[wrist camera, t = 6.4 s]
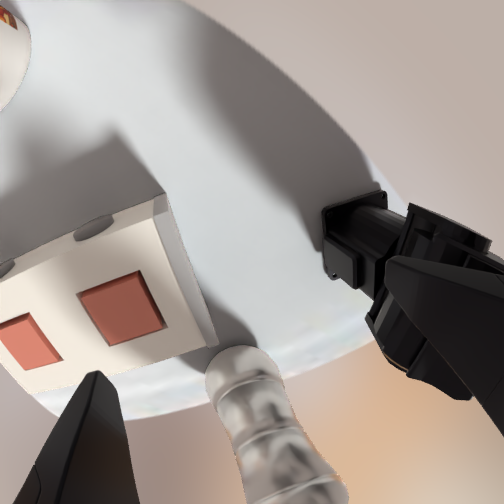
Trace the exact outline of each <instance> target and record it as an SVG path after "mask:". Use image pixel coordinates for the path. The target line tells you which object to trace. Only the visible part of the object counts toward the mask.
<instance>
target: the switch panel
mask: <svg viewBox="0 0 504 504" xmlns="http://www.w3.org/2000/svg"><path fill="white" fill-rule="evenodd" d="M138 270H140V271H141V273H142V275H143V277H144V279H145V282H146V284H147V286H148V288H149V290H150V292H151V294H152V296H153V298H154V300H155V302H156V304H157V306H158V308H159V310H160V312H161V318H162V328H161V329H158V330H155V331H152V332H149V333H146V334H143V335H140V336H137V337H133V338H130V339H127V340H124V341H121V342H118V343H115V344H111V345H110V343H109V342H108V340H107V339H106V337H105V336H104V334H103V333H102V331H101V330H100V328H99V327H98V325H97V324H96V322H95V321H94V319H93V317H92V316H91V314H90V313H89V311H88V309H87V308H86V306H85V304H84V303H83V301H82V299H81V297H82V294H83V291H84V290H87V289H89V288H92V287H95V286H97V285H100V284H102V283H105V282H108V281H111V280H113V279H116V278H119V277H121V276H124V275H127V274H129V273H132V272H135V271H138ZM27 312H30V314H31V315H32V317H33V319H34V320H35V322H36V323H37V324H38V326H39V327H40V329H41V330H42V332H43V333H44V334H45V336H46V337H47V339H48V340H49V341H50V343H51V344H52V345H53V347H54V348H55V349H56V350H57V352H58V353H59V354H60V355H59V359H58V361H57V362H53V363H50V364H46V365H42V366H39V367H35V368H31V369H27V370H24V369H23V368H22V367H21V366H20V364H19V363H18V362H17V361H16V360H15V358H14V357H13V356H12V355H11V353H10V352H9V351H8V350H7V348H6V347H5V346H4V344H3V343H2V342H1V340H0V363H1V364H2V365H3V366H4V367H5V369H6V370H7V371H8V372H9V373H10V374H11V375H12V377H13V378H14V379H15V380H16V381H17V382H18V383H19V384H20V385H21V386H22V387H23V388H24V390H25V391H26V392H27V393H28V394H35V393H40V392H45V391H49V390H54V389H59V388H63V387H68V386H72V385H76V384H80V383H81V382H82V380H83V378H84V377H85V375H86V374H87V373H89V372H92V371H96V370H100V371H101V372H102V373H103V374H104V375H105V376H106V377H108V376H111V375H115V374H119V373H122V372H126V371H129V370H133V369H136V368H140V367H143V366H146V365H150V364H153V363H156V362H159V361H162V360H166V359H169V358H172V357H175V356H178V355H181V354H184V353H187V352H190V351H193V350H196V349H199V348H202V347H204V346H207V347H208V349H209V348H211V347H214V346H217V345H220V343H219V340H218V337H217V334H216V332H215V329H214V326H213V323H212V320H211V317H210V314H209V311H208V308H207V305H206V303H205V300H204V298H203V295H202V293H201V290H200V288H199V285H198V282H197V280H196V277H195V274H194V272H193V269H192V266H191V264H190V261H189V258H188V256H187V253H186V250H185V247H184V244H183V242H182V239H181V236H180V233H179V230H178V227H177V224H176V221H175V218H174V216H173V213H172V210H171V207H170V203H169V200H168V197H167V194H166V193H164V194H161V195H158V196H155V197H154V199H152V200H149V201H146V202H143V203H141V204H138V205H135V206H133V207H130V208H128V209H125V210H122V211H120V212H117V213H115V214H112V215H105V216H102V217H99V218H96V219H94V220H92V221H90V222H88V223H86V224H85V225H83V226H81V227H80V228H79V229H77V230H74V231H72V232H70V233H68V234H65V235H63V236H61V237H59V238H57V239H54V240H52V241H50V242H48V243H46V244H44V245H42V246H40V247H38V248H36V249H34V250H32V251H30V252H28V253H26V254H24V255H22V256H20V257H18V258H16V259H14V260H13V259H10V260H8V261H6V262H4V263H3V264H1V265H0V323H3V322H5V321H7V320H10V319H12V318H15V317H17V316H20V315H22V314H25V313H27Z"/></svg>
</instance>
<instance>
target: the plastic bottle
mask: <svg viewBox="0 0 504 504" xmlns="http://www.w3.org/2000/svg"><path fill="white" fill-rule="evenodd" d="M205 383H206V392H207V394H208V396H209V399H210V401H211V403H212V405H213V407H214V409H215V410H216V412H217V413H218V414H219V416H220V419H221V421H222V423H223V426H224V428H225V430H226V433H227V435H228V437H229V439H230V441H231V444H232V448H233V451H234V454H235V456H236V461H237V464H238V467H239V471H240V474H241V477H242V483H243V488H244V492H245V497H246V501H247V504H348V499H349V496H348V492H347V488H346V484H345V483H344V482H343V480H342V479H341V477H340V476H339V475H337V473H336V472H335V470H334V469H333V468H332V467H331V466H330V464H329V463H328V462H327V461H326V460H325V458H324V457H323V456H322V455H321V454H320V452H319V451H318V450H317V449H316V447H315V446H314V444H313V443H312V441H311V440H310V438H309V437H308V435H307V434H306V433H305V432H304V430H303V427H302V426H301V424H300V423H299V421H298V419H297V418H296V415H295V413H294V411H293V408H292V406H291V404H290V401H289V399H288V397H287V394H286V392H285V388H284V383H283V380H282V377H281V374H280V371H279V369H278V366H277V365H276V364H275V362H274V361H273V360H272V359H271V358H270V357H269V355H268V354H267V353H266V352H264V351H263V350H261V349H258V348H255V347H252V346H247V345H239V346H233V347H230V348H227V349H225V350H223V351H221V352H220V353H218V354H217V355H216V356H215V357H214V358H213V359H212V360H211V362H210V364H209V365H208V367H207V369H206V373H205Z"/></svg>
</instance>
